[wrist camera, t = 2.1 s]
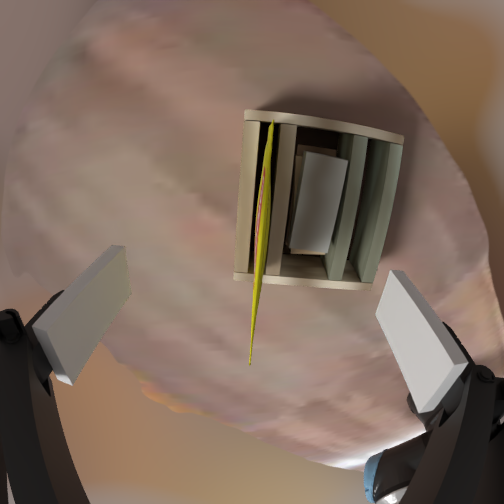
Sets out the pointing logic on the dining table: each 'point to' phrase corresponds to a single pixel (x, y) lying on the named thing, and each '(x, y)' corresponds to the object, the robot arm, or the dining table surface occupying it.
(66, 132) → the dining table surface
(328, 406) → the dining table surface
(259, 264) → the food package
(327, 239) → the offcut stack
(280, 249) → the rack
